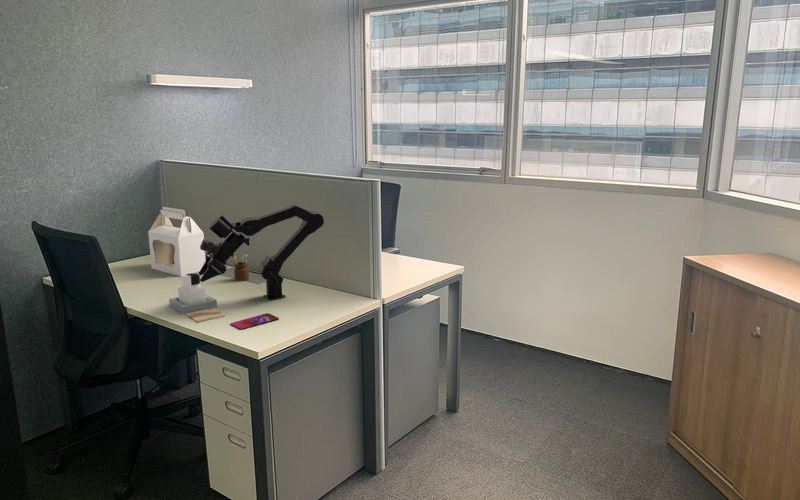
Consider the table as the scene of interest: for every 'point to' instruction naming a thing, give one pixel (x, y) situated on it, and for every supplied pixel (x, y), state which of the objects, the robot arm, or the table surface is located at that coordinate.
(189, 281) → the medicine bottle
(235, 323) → the smartphone
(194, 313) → the cork coaster
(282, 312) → the table surface
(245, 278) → the utensil holder
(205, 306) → the parts tub
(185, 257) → the gable box
